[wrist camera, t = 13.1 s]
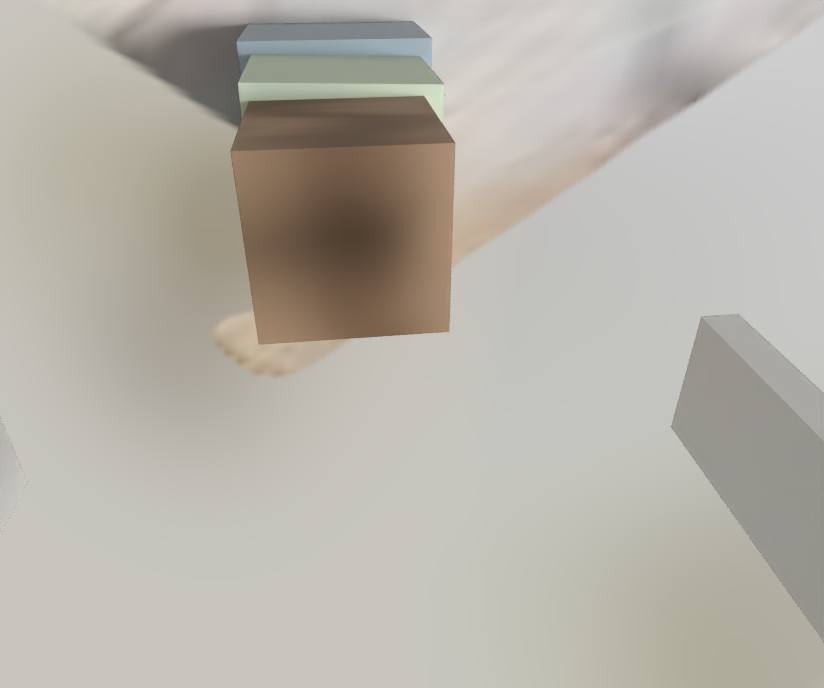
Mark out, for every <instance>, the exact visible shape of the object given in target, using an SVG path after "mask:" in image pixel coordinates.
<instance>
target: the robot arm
mask: <svg viewBox="0 0 824 688" xmlns="http://www.w3.org/2000/svg"><path fill="white" fill-rule="evenodd" d="M671 428H672V429H673V431H674V432H675V433H676V435H677V436H678V438H679V439H680V440H681V442H682V443H683V445H684V446H685V448H686V449H687V450H688V452H689V453H690V455H691V456H692V457H693V459H694V460H695V461H696V463H697V464H698V466H699V467H700V469H701V470H702V471H703V473H704V474H705V476H706V477H707V478H708V480H709V481H710V483H711V484H712V486H713V487H714V488H715V490H716V491H717V492H718V494H719V495H720V497H721V498H722V500H723V501H724V502H725V504H726V505H727V507H728V508H729V509H730V511H731V512H732V514H733V515H734V517H735V518H736V519H737V521H738V522H739V523H740V525H741V526H742V528H743V529H744V531H745V532H746V533H747V535H748V536H749V538H750V539H751V540H752V542H753V543H754V545H755V546H756V548H757V549H758V550H759V552H760V553H761V554H762V556H763V557H764V559H765V560H766V562H767V563H768V564H769V566H770V567H771V568H772V570H773V571H774V573H775V574H776V576H777V577H778V579H779V580H780V581H781V583H782V584H783V586H784V587H785V588H786V590H787V591H788V593H789V594H790V595H791V596H792V598H793V600H794V601H795V603H796V604H797V605H798V607H799V608H800V610H801V611H802V612H803V614H804V615H805V616H806V618H807V619H808V621H809V622H810V624H811V625H812V626H813V628H814V629H815V630H816V632H817V634H818V635H819V636H820V638H821V639H822V640H823V642H824V393H823V392H822V391H821V390H820V389H819V388H818V387H816V385H815V384H814V383H812V382H811V381H810V380H809V379H808V378H807V377H806V376H805V375H804V374H803V373H802V372H800V370H798V369H797V368H796V367H795V366H794V365H793V364H792V363H791V362H790V361H789V360H788V359H786V358H785V357H784V356H783V355H782V354H781V353H780V352H779V351H778V350H777V349H776V348H774V346H772V345H771V344H770V343H769V342H768V341H767V340H766V339H765V338H764V337H763V336H762V335H761V334H760V333H758V332H757V331H756V330H755V329H754V328H753V327H752V326H751V325H750V324H749V323H748V322H747V321H745V320H744V319H743V318H742V317H741V316H740V315H739V314H731V315H715V316H702V317H701V319H700V323H699V327H698V330H697V334H696V338H695V341H694V345H693V349H692V352H691V356H690V359H689V363H688V367H687V371H686V374H685V378H684V381H683V385H682V389H681V392H680V396H679V400H678V403H677V407H676V411H675V414H674V418H673V422H672V425H671ZM27 483H28V481H27V479H26V477H25V474H24V472H23V469H22V467H21V464H20V462H19V460H18V457H17V455H16V453H15V450H14V448H13V445H12V443H11V441H10V438H9V436H8V433H7V431H6V429H5V427H4V424H3V421H2V419H1V417H0V537H1V535H2V533H3V531H4V529H5V527H6V525H7V523H8V521H9V519H10V517H11V515H12V513H13V511H14V509H15V507H16V505H17V503H18V501H19V499H20V497H21V495H22V493H23V491H24V489H25V487H26V485H27Z"/></svg>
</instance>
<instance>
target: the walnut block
mask: <svg viewBox="0 0 824 688" xmlns="http://www.w3.org/2000/svg"><path fill="white" fill-rule="evenodd" d="M231 158H232V165H233V172H234V178H235V185H236V192H237V199H238V205H239V212H240V220H241V226H242V233H243V240H244V247H245V254H246V260H247V267H248V274H249V281H250V288H251V295H252V302H253V309H254V316H255V322H256V329H257V336H258V343H259V345H260V344H275V343H290V342H305V341H319V340H334V339H349V338H364V337H378V336H393V335H408V334H422V333H436V332H437V333H438V332H449V322H450V291H451V260H452V229H453V198H454V167H455V142H454V140H453V139H452V137H451V136H450V134H449V133H448V131H447V130H446V128H445V127H444V125H443V124H442V122H441V121H440V119H439V118H438V116H437V115H436V113H435V112H434V110H433V109H432V107H431V105H430V104H429V102H428V101H427V99H426V98H425V96H403V97H370V98H336V99H302V100H268V101H249V102H248V104H247V107H246V110H245V113H244V115H243V118H242V121H241V124H240V127H239V129H238V132H237V135H236V138H235V140H234V143H233V146H232V149H231Z"/></svg>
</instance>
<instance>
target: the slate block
mask: <svg viewBox="0 0 824 688" xmlns="http://www.w3.org/2000/svg"><path fill="white" fill-rule="evenodd" d="M236 44H237V52H238V60H239V67H240V75H242V73H243V71H244V69H245V67H246V65H247V63H248V60H249V58H250V56H251V54H276V55H346V56H415V57H422V58H423V60H424V61H425V62H426V63H427V64H428V65H429V67H430V68H431V63H432V38H431V37H430V36H429V35H428V34H427V33H426V32H425V31H424V30H422V29H421V28H420V27H419V26H418V25H417V24H416V23H415V22H355V23H290V24H248V25H247V26H246V28H245V29H244V31H243V32H242V34H241V35H240V37H239V38H238V40H237V41H236Z"/></svg>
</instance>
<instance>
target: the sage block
mask: <svg viewBox="0 0 824 688" xmlns="http://www.w3.org/2000/svg"><path fill="white" fill-rule="evenodd" d="M238 89H239V99H240V110H241V120H242V118H243V115H244V113H245V110H246V107H247V104H248V102H249V101H268V100H302V99H336V98H370V97H403V96H425V98H426V99H427V101H428V102H429V104H430V105H431V107H432V109H433V110H434V112H435V113H436V115H437V116H438V118H439V119H440V121H441V122H442V124H443V107H444V89H445V84H444V83H443V82H442V81H441V80H440V78H439V77H438V76H437V75H436V74H435V72H434V71H433V70H432V69H431V68H430V67H429V65H428V64H427V63H426V62H425V61H424V60H423V58H422V57H415V56H346V55H276V54H251V56H250V58H249V60H248V63H247V65H246V67H245V69H244V71H243V73H242V75H241V77H240V79H239V81H238Z"/></svg>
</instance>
